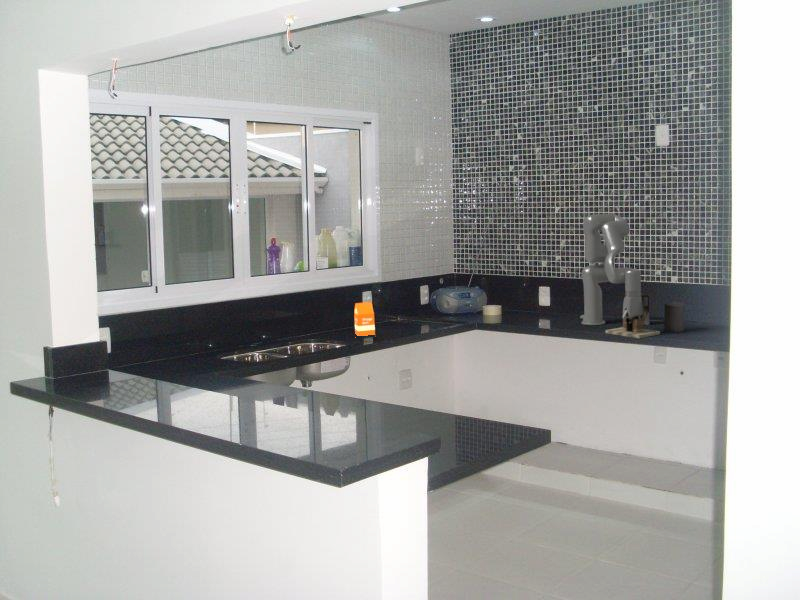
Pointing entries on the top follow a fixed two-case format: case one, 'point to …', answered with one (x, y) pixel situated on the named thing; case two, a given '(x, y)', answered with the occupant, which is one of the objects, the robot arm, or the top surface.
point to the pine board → (632, 333)
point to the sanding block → (635, 324)
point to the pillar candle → (674, 317)
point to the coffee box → (645, 308)
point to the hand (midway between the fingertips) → (633, 329)
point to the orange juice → (364, 319)
